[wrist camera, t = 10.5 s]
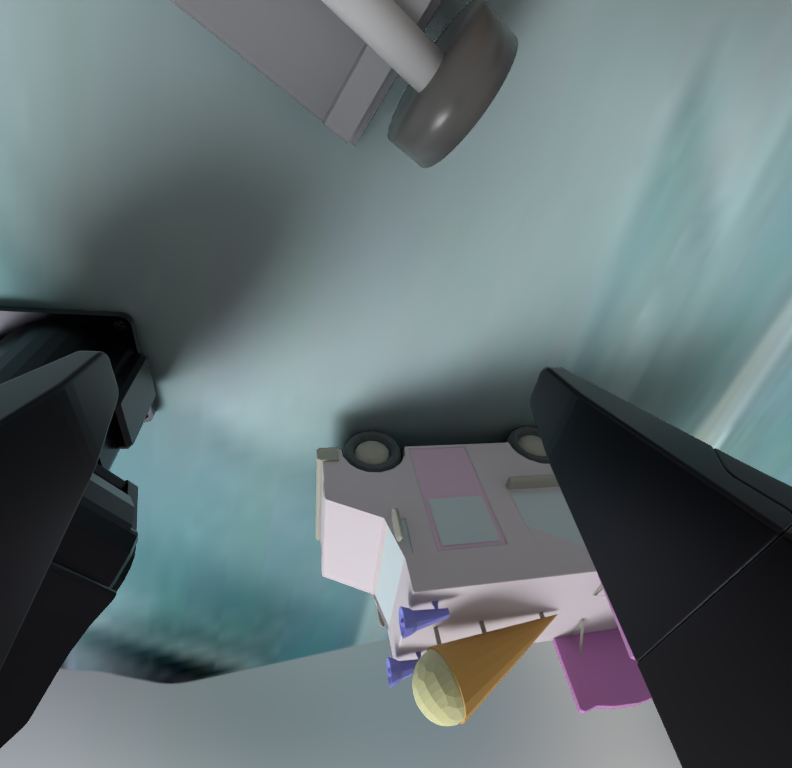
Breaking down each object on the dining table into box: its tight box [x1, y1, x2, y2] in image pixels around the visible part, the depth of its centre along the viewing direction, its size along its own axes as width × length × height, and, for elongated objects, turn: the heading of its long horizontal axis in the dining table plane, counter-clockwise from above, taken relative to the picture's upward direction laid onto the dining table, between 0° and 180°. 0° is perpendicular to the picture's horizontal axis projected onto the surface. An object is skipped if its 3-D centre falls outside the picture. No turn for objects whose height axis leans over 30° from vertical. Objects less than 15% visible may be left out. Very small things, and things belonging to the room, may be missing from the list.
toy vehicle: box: [316, 426, 652, 726], centre depth 25 cm, size 9×20×15 cm, turn 83°
